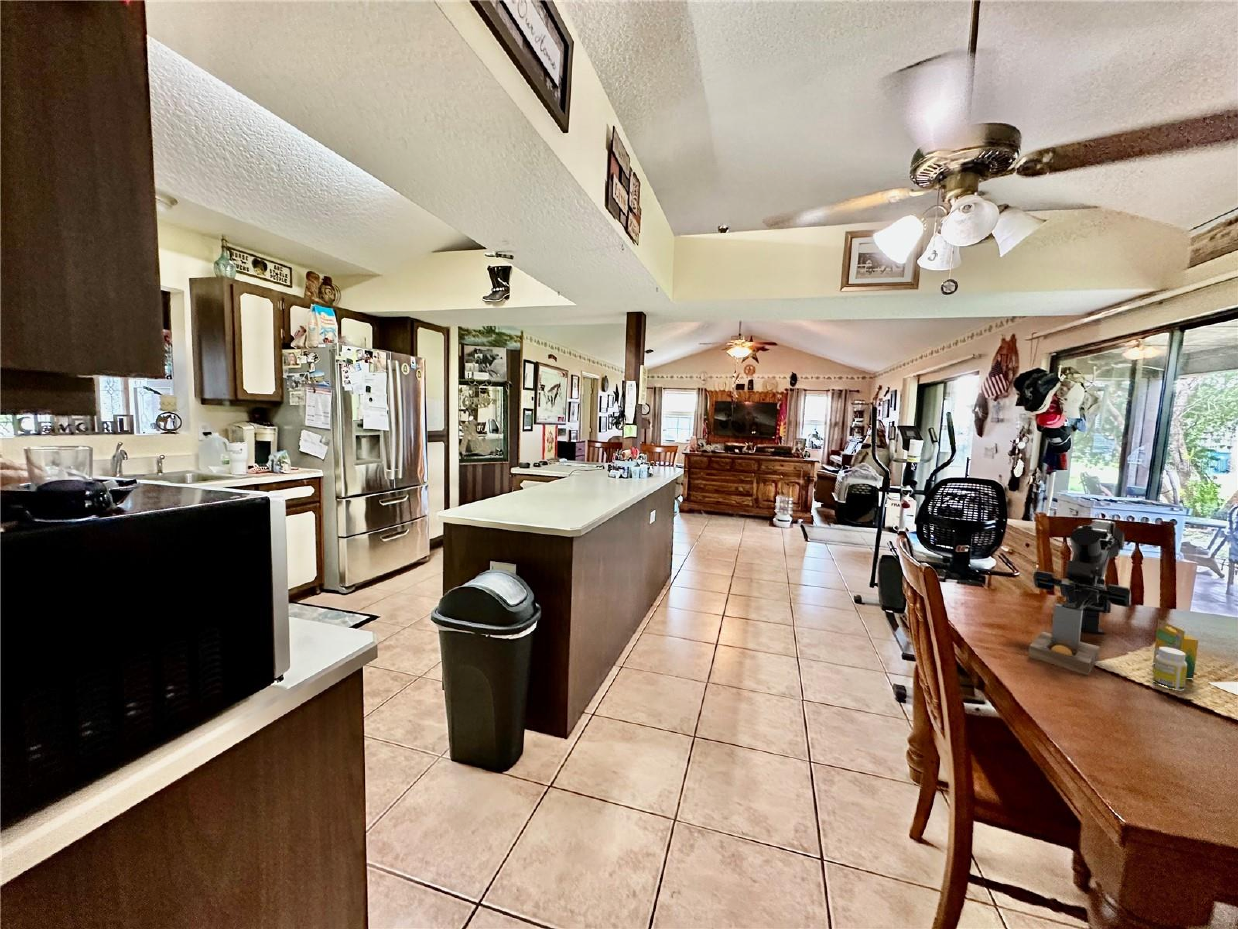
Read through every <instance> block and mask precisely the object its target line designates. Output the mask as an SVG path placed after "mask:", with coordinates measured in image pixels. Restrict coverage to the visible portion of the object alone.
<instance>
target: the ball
mask: <svg viewBox="0 0 1238 929" xmlns="http://www.w3.org/2000/svg"><path fill="white" fill-rule="evenodd" d="M1051 650H1052V651H1055V652H1059V653H1062V654H1066V655H1072V652H1071V651H1070V650H1069V649H1068V648H1067V647H1065V646H1062V645H1056V646H1054V647H1052V649H1051Z"/></svg>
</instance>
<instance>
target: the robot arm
mask: <svg viewBox="0 0 1238 929" xmlns="http://www.w3.org/2000/svg"><path fill="white" fill-rule="evenodd" d="M1069 541H1070V544H1071V550H1072V552H1073V554H1072V558H1071V560H1067V564H1066V568H1065V569H1066V570H1065V574H1064V575H1065V578H1061V579H1059V578H1055V574H1054V573H1053V572H1049V571H1044V570H1038V569H1037V570H1036V571H1035V572H1033V576H1032V579H1033V583H1034V587H1035V588H1037V589H1039V590H1044V591H1049V592H1050V591H1053V590H1055V587H1059V592H1060V596H1062V597H1065V601H1070V602H1073V603H1075V604H1076V605H1075V608H1079V609H1083V614H1082V624H1081V632H1089V633H1097V634H1106V632H1105V630H1103V629H1101V628H1100V619H1101V613H1102V614H1111V612H1112V605H1114V606H1119V607H1124V608H1130V606H1131V602H1132V601H1131V600H1132V594H1131V593H1132V591H1131V589H1130V588H1129V587H1127V586H1122V585H1121V586H1120V585H1117V584H1111V583H1109V584H1108V586H1107V585H1106V580H1105V579H1104V577H1105V575H1106V570H1107V567H1108V564H1109V561H1110V559H1112V558H1116V557H1118V556H1119V554H1120V552H1121V551H1123V550H1124V549H1125V548H1124V547H1125V533H1124V531H1122V530H1120V528H1118V527H1116V522H1114V521H1112V520H1104V519H1097V518H1096V519H1092V520H1091V523H1090V524H1089V525H1084V524H1083V525H1080V526H1078V527H1077V528H1076V529H1074V530H1072V531H1071V532H1070V535H1069Z"/></svg>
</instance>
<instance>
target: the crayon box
mask: <svg viewBox="0 0 1238 929" xmlns="http://www.w3.org/2000/svg"><path fill="white" fill-rule="evenodd" d="M1156 629H1157V630H1156V636H1155V644H1154V651H1153V652H1154V653H1153V658H1152V664H1153V663H1155V657H1156V656H1157V655H1159V654H1158V650H1159V647H1169V648H1173V649H1177V650H1180V651H1182V652H1184V653H1185V654H1186V656H1185V660H1184V661H1185V662H1186V663H1187V672H1186V678H1194V677H1195V671H1196V670H1195V668H1196V661H1197V655H1198V654H1197V651H1198V648H1199V646H1198V645H1199V640H1198V639H1195V638H1194V637H1191V636H1189V635H1187V634H1185V633H1186V632H1185V630H1184V629H1181V628H1178V627H1177V626H1174V625H1173V624H1169V623H1168V622H1165V621H1163V620H1161V619H1158V621H1157V628H1156ZM1194 679H1195V678H1194Z"/></svg>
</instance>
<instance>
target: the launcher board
mask: <svg viewBox="0 0 1238 929" xmlns="http://www.w3.org/2000/svg"><path fill="white" fill-rule="evenodd" d="M1051 636H1052V633H1049V632H1045V631H1042V632H1041V633H1040V634H1039V635H1038V636H1037V637H1036V638H1035V639H1034V640H1033V641H1032V642H1031V644H1030V645H1029V647H1028V656H1027V657H1028V658H1029V657H1032V658H1031V659H1033V658H1034V659H1033V660H1036V659H1038V660H1037V661H1039V660H1041V661H1040V662H1043V661H1045V662H1044V663H1046V662H1047V663H1046V664H1049V663H1050V664H1049V665H1052V664H1054V665H1053V666H1056V665H1057V666H1056V667H1060V668H1062V667H1064V668H1063V669H1065V668H1066V669H1067V670H1070V671H1072V672H1075V671H1076V672H1075V673H1079V674H1082V675H1085V674H1086V675H1085V676H1089V675H1090V673H1091V671H1092V670H1093V668H1094V666H1095V665H1096V663H1097V661H1098V659H1099V654H1100V646H1098V645H1095V644H1090V643H1086V642H1082V641H1080V644H1079V649H1078V650H1075V649H1072V648H1068V647H1067V648H1068V649H1069V650H1070V651H1071V652H1072V655H1066V654H1062V653H1059V652H1055V651H1052V650H1051V649H1052V647H1054V646H1056V645H1057V644H1054V643H1051ZM1095 662H1096V663H1095ZM1094 664H1095V665H1094Z"/></svg>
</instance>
